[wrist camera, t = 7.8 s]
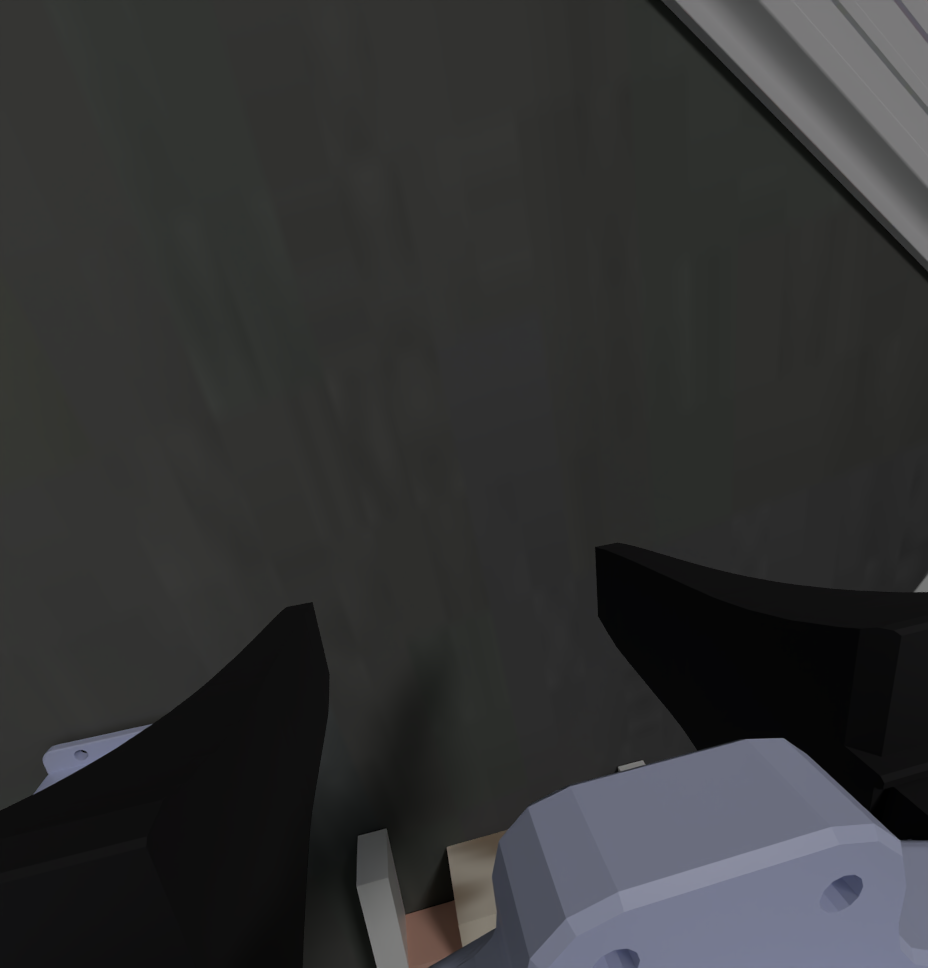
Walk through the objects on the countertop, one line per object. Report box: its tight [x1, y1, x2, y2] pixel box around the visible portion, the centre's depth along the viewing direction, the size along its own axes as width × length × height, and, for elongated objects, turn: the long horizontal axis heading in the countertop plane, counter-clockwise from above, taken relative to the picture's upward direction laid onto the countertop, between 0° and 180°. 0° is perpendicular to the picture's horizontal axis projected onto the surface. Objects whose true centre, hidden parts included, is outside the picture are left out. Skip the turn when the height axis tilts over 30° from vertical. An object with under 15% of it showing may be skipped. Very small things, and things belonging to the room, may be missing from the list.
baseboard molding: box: [662, 0, 928, 271], centre depth 19 cm, size 31×3×12 cm
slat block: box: [447, 830, 507, 947], centre depth 26 cm, size 10×4×4 cm, turn 97°
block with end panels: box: [356, 760, 645, 968], centre depth 26 cm, size 16×8×2 cm, turn 97°
